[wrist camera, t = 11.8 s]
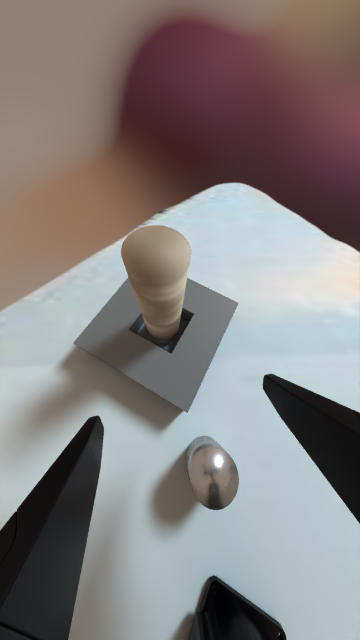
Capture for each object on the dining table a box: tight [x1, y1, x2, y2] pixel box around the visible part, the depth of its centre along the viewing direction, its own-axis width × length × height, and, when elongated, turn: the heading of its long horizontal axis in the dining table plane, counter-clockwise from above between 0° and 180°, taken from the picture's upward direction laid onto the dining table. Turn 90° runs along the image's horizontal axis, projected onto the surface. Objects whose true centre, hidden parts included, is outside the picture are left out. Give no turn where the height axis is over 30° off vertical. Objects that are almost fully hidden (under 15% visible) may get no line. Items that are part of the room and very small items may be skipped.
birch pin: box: [121, 226, 191, 345], centre depth 16 cm, size 4×4×14 cm
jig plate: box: [74, 277, 238, 413], centre depth 21 cm, size 14×14×3 cm
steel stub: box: [186, 436, 239, 510], centre depth 16 cm, size 4×4×4 cm
